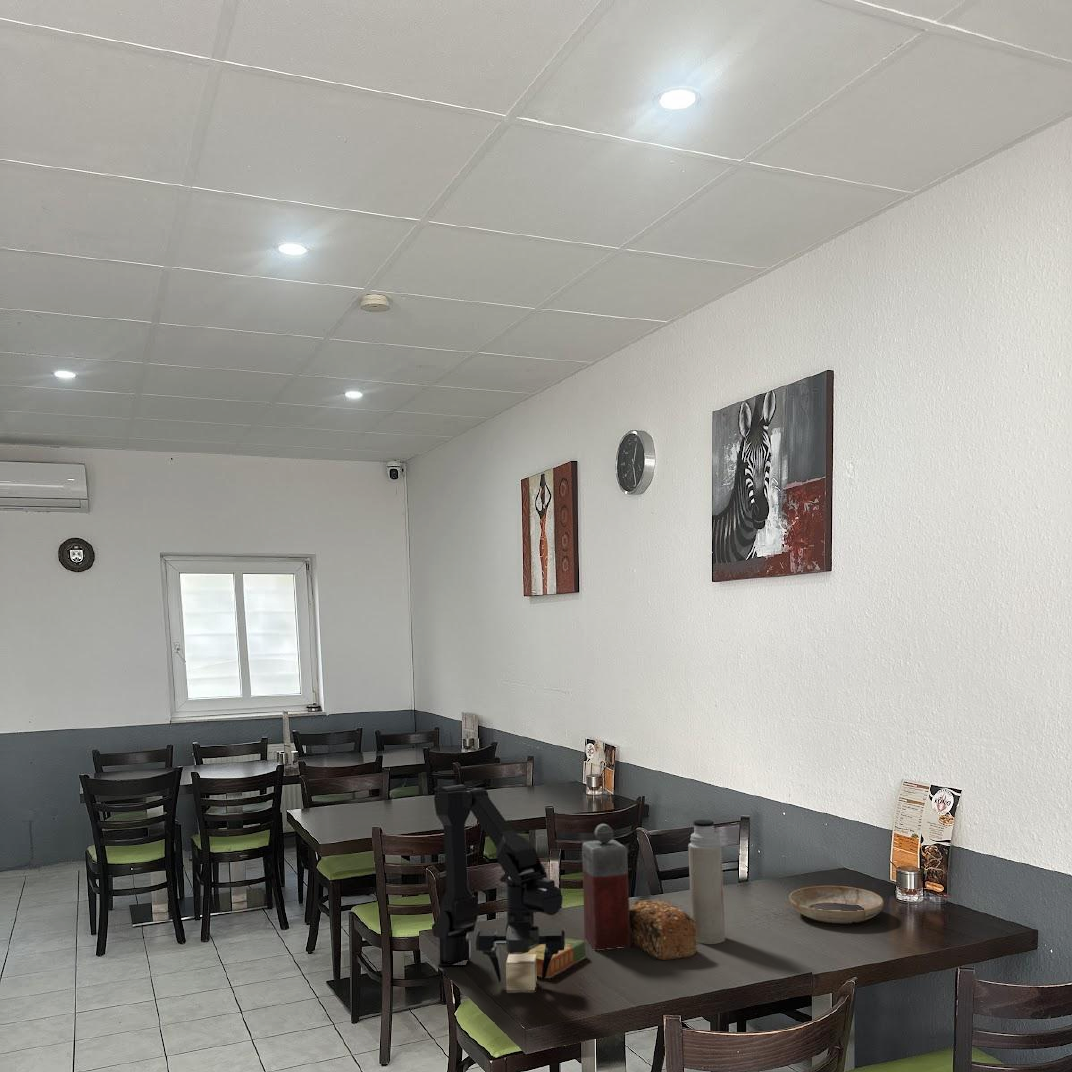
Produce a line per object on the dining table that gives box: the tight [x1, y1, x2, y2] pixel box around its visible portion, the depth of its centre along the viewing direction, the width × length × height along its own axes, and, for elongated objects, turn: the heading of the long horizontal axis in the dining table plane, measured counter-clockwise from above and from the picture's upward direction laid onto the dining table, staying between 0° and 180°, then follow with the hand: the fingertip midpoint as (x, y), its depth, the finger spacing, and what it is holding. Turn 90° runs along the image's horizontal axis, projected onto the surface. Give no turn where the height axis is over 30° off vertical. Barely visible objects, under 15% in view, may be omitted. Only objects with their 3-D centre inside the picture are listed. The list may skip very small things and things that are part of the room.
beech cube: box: [505, 953, 538, 990], centre depth 201 cm, size 6×6×6 cm
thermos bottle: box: [688, 819, 726, 945], centre depth 231 cm, size 8×8×28 cm
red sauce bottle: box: [581, 823, 631, 950], centre depth 231 cm, size 9×11×28 cm
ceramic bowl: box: [788, 885, 884, 924], centre depth 246 cm, size 23×24×5 cm
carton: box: [522, 937, 587, 977], centre depth 214 cm, size 8×16×4 cm, turn 147°
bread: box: [629, 899, 698, 960], centre depth 225 cm, size 19×11×10 cm, turn 19°
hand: (521, 981), depth 201 cm, fingers open, 9 cm apart
